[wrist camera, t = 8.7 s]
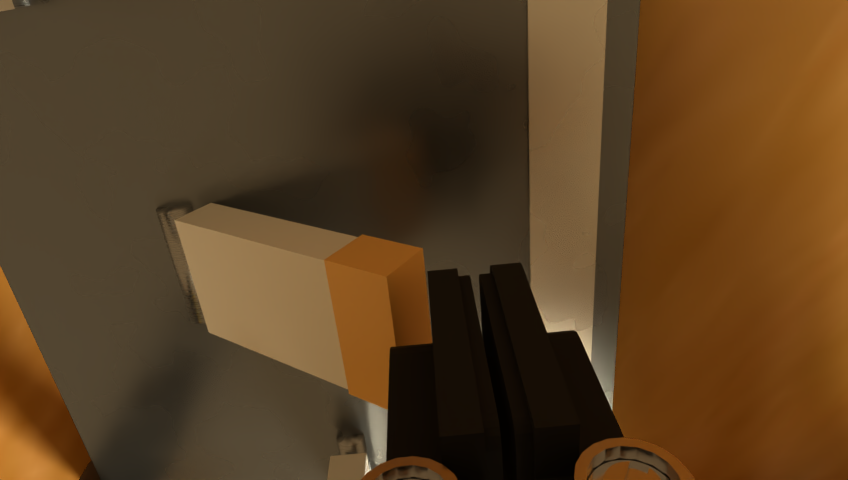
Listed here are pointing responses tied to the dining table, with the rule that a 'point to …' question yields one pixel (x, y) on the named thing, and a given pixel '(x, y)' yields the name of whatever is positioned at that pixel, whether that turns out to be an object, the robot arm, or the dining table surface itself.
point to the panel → (294, 193)
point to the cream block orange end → (308, 294)
